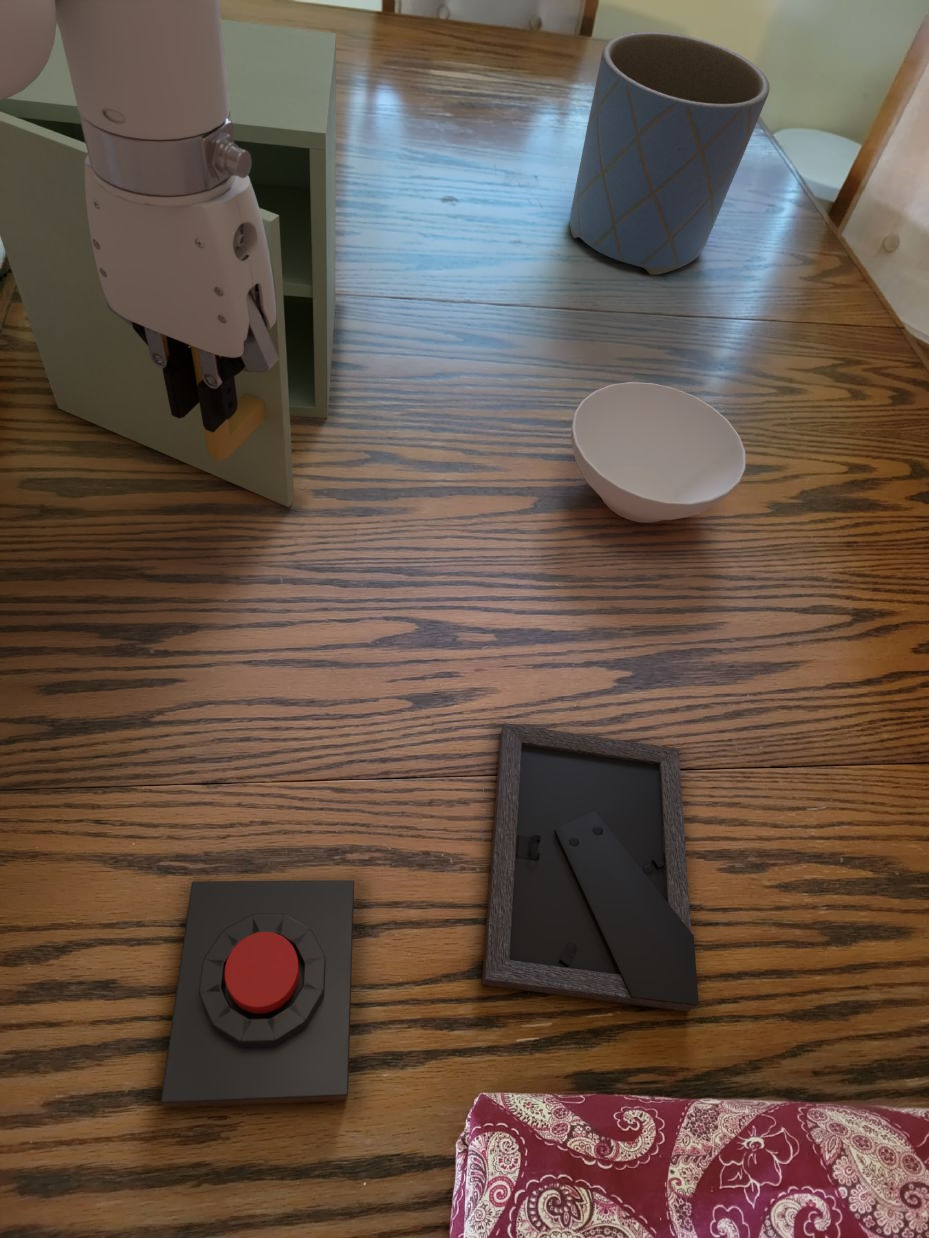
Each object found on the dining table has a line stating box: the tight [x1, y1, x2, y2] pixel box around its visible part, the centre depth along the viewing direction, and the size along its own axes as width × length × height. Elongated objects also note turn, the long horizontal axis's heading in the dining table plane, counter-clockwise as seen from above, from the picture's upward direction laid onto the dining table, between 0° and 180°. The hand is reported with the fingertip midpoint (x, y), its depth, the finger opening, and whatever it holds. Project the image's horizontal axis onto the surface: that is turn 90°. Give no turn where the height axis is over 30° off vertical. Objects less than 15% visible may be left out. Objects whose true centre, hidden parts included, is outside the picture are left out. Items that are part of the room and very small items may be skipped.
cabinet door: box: [0, 112, 295, 508], centre depth 63 cm, size 7×24×26 cm, turn 66°
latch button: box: [225, 932, 299, 1014], centre depth 47 cm, size 4×4×2 cm
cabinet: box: [0, 18, 337, 419], centre depth 74 cm, size 18×24×26 cm
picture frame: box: [481, 723, 700, 1013], centre depth 57 cm, size 13×2×18 cm
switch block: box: [160, 879, 355, 1109], centre depth 49 cm, size 12×10×4 cm
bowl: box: [570, 381, 746, 524], centre depth 78 cm, size 16×16×7 cm
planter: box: [569, 31, 771, 276], centre depth 101 cm, size 19×19×20 cm
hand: (204, 411), depth 59 cm, fingers closed on cabinet door, 2 cm apart
